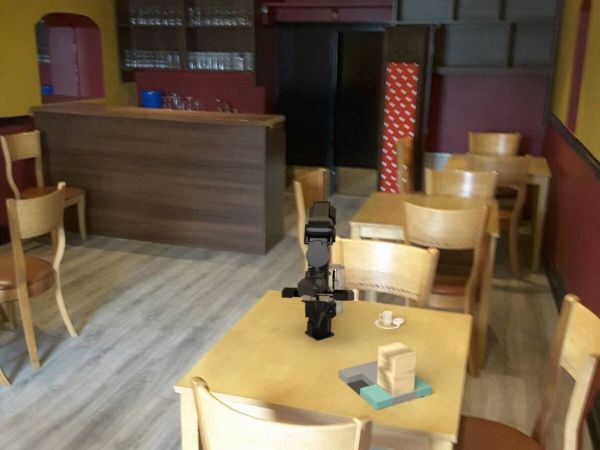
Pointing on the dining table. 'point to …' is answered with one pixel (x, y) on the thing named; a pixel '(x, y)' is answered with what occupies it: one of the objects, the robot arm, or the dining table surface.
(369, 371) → the board
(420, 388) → the mint green slab
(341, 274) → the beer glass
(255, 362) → the dining table surface
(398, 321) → the teacup and saucer
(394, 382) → the maple block
